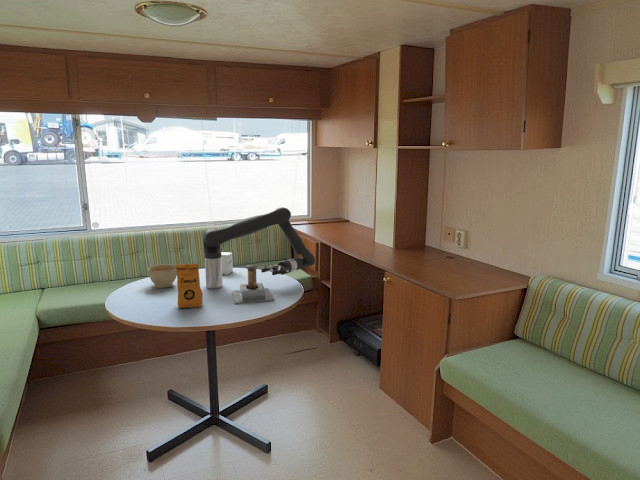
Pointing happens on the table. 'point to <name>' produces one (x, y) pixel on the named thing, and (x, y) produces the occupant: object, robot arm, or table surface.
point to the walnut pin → (252, 276)
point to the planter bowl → (163, 275)
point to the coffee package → (188, 286)
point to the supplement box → (227, 262)
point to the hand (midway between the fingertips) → (267, 272)
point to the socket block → (252, 294)
